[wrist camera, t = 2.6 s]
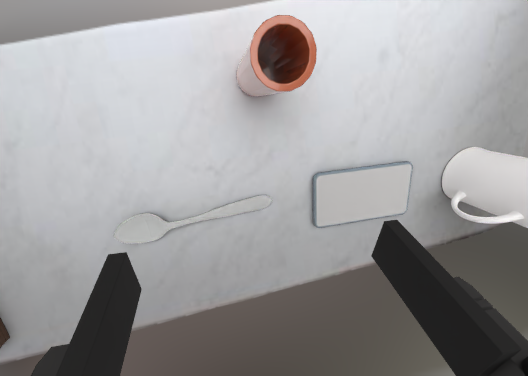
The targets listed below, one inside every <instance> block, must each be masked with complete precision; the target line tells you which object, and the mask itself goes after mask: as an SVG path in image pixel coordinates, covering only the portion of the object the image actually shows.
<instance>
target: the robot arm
mask: <svg viewBox="0 0 528 376" xmlns="http://www.w3.org/2000/svg"><path fill="white" fill-rule="evenodd" d="M372 257H373V259H374V260H375V262H376V263H377V264H378V266H379V267H380V269H381V270H382V271H383V273H384V274H385V276H386V277H387V278H388V280H389V281H390V283H391V284H392V286H393V287H394V289H395V290H396V291H397V293H398V294H399V296H400V297H401V298H402V300H403V301H404V303H405V304H406V306H407V307H408V308H409V310H410V311H411V312H412V314H413V315H414V317H415V318H416V320H417V321H418V322H419V324H420V325H421V327H422V328H423V329H424V331H425V332H426V334H427V335H428V337H429V338H430V339H431V341H432V342H433V344H434V345H435V347H436V348H437V349H438V351H439V352H440V354H441V355H442V356H443V358H444V359H445V361H446V362H447V363H448V365H449V366H450V368H451V369H452V371H453V372H454V373H455V375H456V376H528V341H527V340H526V339H525V338H524V337H523V336H522V335H521V334H520V333H519V332H518V331H517V330H516V329H515V328H514V327H513V326H512V325H511V324H510V323H509V322H508V321H507V320H506V319H505V318H504V317H503V316H502V315H501V314H500V313H499V312H498V311H497V310H496V309H494V308H493V307H492V305H491V304H490V303H489V302H488V301H487V300H486V299H484V298H483V296H482V295H481V294H480V293H479V292H478V291H477V290H476V289H475V288H474V287H473V286H472V285H470V284H468V283H467V282H466V281H464V280H463V279H461V278H460V277H455V278H453V277H452V276H451V275H450V274H449V273H448V272H447V271H446V270H445V269H444V268H443V267H442V266H441V265H440V264H439V263H438V262H437V261H436V260H435V259H434V258H433V257H432V256H431V254H430V253H429V252H428V251H427V250H426V249H425V248H424V247H423V246H422V245H421V244H420V243H419V242H418V241H417V240H416V239H415V238H414V237H413V236H412V235H411V234H410V233H409V232H408V231H407V230H406V229H405V228H404V227H403V226H402V225H401V223H400V222H399V221H398V220H391V221H384V224H383V226H382V229H381V232H380V234H379V237H378V240H377V243H376V245H375V248H374V251H373V253H372ZM140 293H141V287H140V284H139V282H138V279H137V277H136V275H135V272H134V270H133V267H132V265H131V262H130V260H129V258H128V255H127V253H126V252H125V253H117V254H109V255H108V256H107V259H106V261H105V263H104V265H103V268H102V270H101V272H100V275H99V277H98V279H97V282H96V284H95V286H94V289H93V291H92V293H91V295H90V298H89V300H88V302H87V305H86V307H85V309H84V312H83V314H82V316H81V319H80V321H79V323H78V325H77V328H76V330H75V332H74V335H73V337H72V339H71V342H70V344H67V345H61V346H55V347H51V348H50V349H49V351H48V352H47V353H46V354H45V355H44V357H43V358H42V359H41V360H40V361H39V362H38V364H37V365H36V367H35V369H34V371H33V373H32V375H31V376H120V373H121V369H122V365H123V361H124V357H125V353H126V349H127V345H128V341H129V337H130V333H131V329H132V325H133V321H134V317H135V313H136V309H137V305H138V301H139V297H140Z"/></svg>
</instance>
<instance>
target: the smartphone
mask: <svg viewBox="0 0 528 376" xmlns="http://www.w3.org/2000/svg"><path fill="white" fill-rule="evenodd" d="M412 169H413V165H412V163H410V162H407V161H406V162H398V163H391V164H383V165H375V166H368V167H360V168H352V169H344V170H337V171H329V172H321V173H317V174H316V175H315V176H314V178H313V217H314V225H315V226H316V227H318V228H322V227H328V226H334V225H340V224H346V223H352V222H358V221H364V220H370V219H377V218H383V217H389V216H395V215H401V214H404V213H405V212H406V211H407V207H408V199H409V192H410V184H411V177H412Z"/></svg>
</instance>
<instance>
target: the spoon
mask: <svg viewBox="0 0 528 376" xmlns="http://www.w3.org/2000/svg"><path fill="white" fill-rule="evenodd" d="M271 203H272V198H271V197H269V196H267V195H259V196H255V197H252V198H248V199H245V200H241V201H238V202H234V203H231V204H228V205H225V206H222V207H220V208H217V209H214V210H212V211H209V212H207V213H204V214H202V215H198V216H195V217H191V218H188V219H184V220H180V221H176V222H166V221H164V220H163V219H161V218H160V217H158V216H157V215H154V214H151V213H142V214H139V215H136V216H133V217H131V218H129V219H127V220H126V221H124V222H123V223H121V224H120V225H119V226H118V227H117V229H116V230H115V233H114V238H115V239H116V240H118V241H120V242H122V243H128V244H137V243H146V242H152V241H155V240H157V239H160V238H161V237H162V236H164V234H165V233H166V232H167V231H168V230H170V229H173V228H176V227H179V226H182V225H186V224H190V223H194V222H198V221H203V220H209V219H215V218H221V217H226V216H232V215H237V214H241V213H246V212H251V211H256V210H261V209H264V208H267V207H268V206H269V205H270V204H271Z"/></svg>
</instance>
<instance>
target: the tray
mask: <svg viewBox="0 0 528 376" xmlns="http://www.w3.org/2000/svg"><path fill="white" fill-rule="evenodd" d="M9 338H10V337H9V335H8V333H7V331H6V329H5V326H4V324H3V322H2V320H1V318H0V348H1V347H2V345H3V344H4V343H5V342H6V341H7V340H8V339H9Z"/></svg>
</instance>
